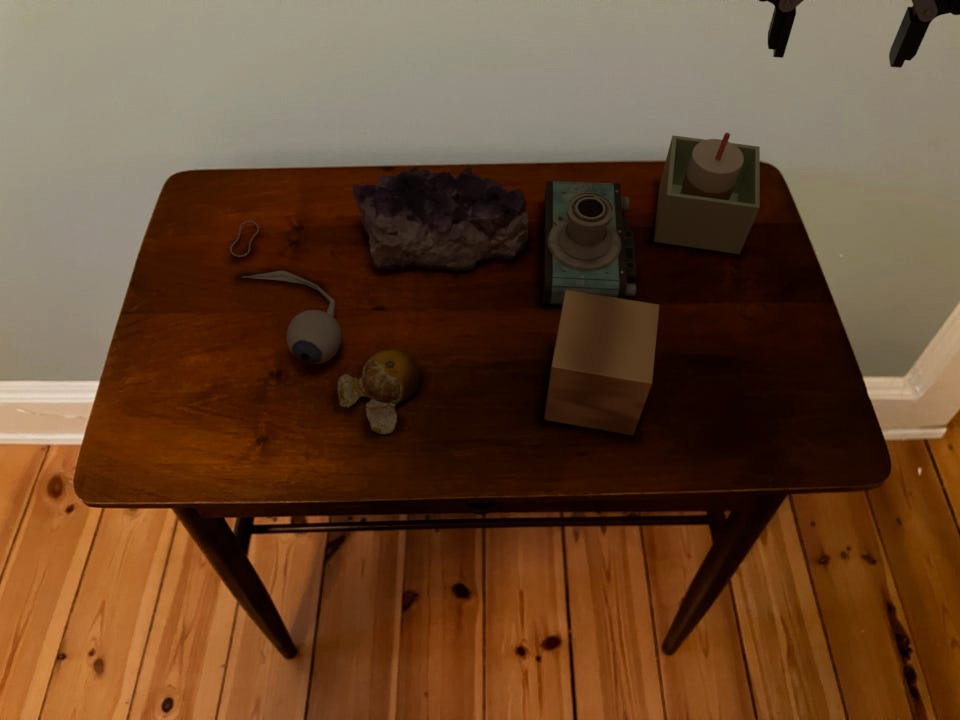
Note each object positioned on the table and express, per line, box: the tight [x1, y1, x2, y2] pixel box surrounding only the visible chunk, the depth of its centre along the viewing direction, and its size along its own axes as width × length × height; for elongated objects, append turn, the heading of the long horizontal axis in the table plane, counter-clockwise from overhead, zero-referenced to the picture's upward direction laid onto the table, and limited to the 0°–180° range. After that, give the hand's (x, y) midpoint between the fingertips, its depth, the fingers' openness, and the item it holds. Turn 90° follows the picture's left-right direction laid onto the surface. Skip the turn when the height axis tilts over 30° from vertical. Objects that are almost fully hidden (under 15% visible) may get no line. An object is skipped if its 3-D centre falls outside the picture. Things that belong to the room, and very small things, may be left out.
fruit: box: [336, 349, 421, 435], centre depth 75 cm, size 8×8×4 cm
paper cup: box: [680, 132, 744, 200], centre depth 84 cm, size 6×6×13 cm
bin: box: [653, 135, 761, 255], centre depth 87 cm, size 10×10×8 cm
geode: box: [352, 165, 530, 273], centre depth 84 cm, size 20×12×10 cm, turn 91°
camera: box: [542, 180, 637, 306], centre depth 83 cm, size 16×10×10 cm
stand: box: [543, 290, 660, 436], centre depth 72 cm, size 9×9×10 cm
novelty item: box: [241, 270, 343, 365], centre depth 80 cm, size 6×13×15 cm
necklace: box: [229, 219, 261, 258], centre depth 87 cm, size 2×5×1 cm, turn 166°
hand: (835, 57), depth 57 cm, fingers open, 8 cm apart
